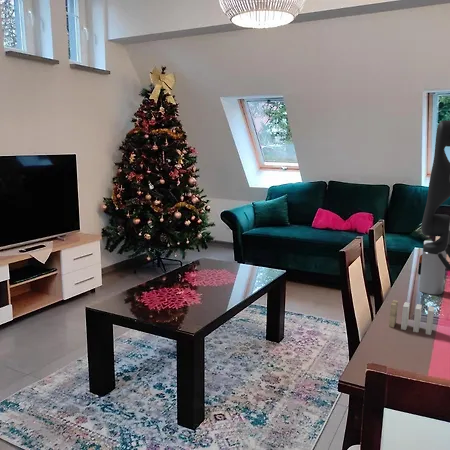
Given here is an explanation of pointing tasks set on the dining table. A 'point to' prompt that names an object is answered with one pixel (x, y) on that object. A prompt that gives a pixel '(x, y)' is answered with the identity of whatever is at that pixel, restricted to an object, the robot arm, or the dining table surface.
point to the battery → (420, 264)
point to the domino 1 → (393, 313)
